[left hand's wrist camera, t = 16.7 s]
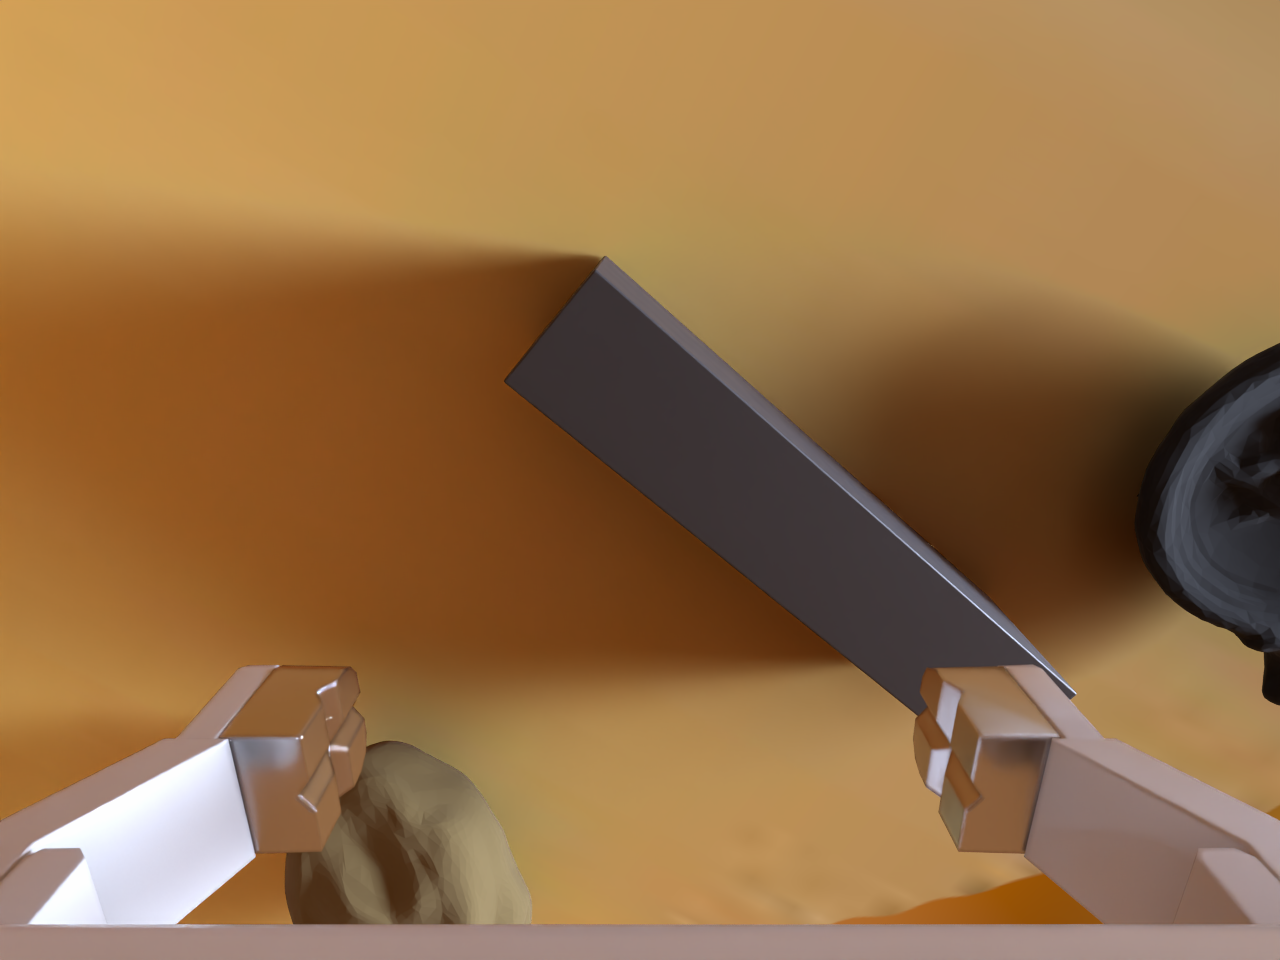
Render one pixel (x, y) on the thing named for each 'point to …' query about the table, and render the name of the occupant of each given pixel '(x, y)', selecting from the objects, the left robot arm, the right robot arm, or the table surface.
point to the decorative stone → (409, 851)
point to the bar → (759, 489)
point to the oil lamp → (1222, 509)
